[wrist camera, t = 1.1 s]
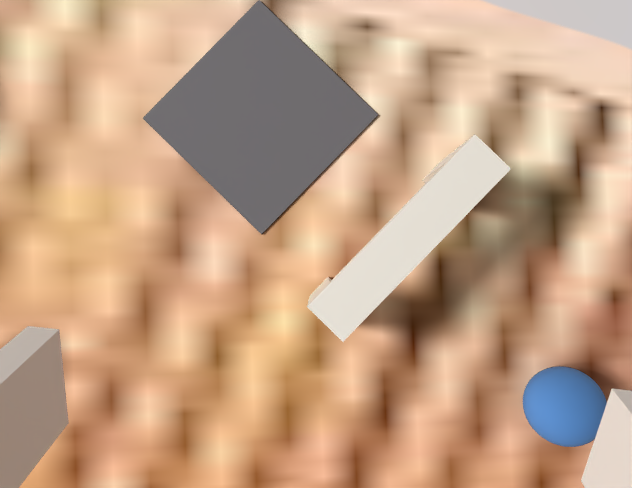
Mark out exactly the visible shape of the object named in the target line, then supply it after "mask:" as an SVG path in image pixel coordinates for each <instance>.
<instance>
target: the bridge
mask: <svg viewBox="0 0 632 488" xmlns="http://www.w3.org/2000/svg"><path fill="white" fill-rule="evenodd" d="M510 169H511V168H510V167H509V166H508V165H507V164H505V163H504V162H503V161H502V160H501V159H500V158H499V157H498V156H497V155H496V154H495V153H494V152H493V151H492V150H491V149H490V148H489V147H488V146H487V145H486V144H485V143H484V142H483V141H482V140H480V139H479V138H478V137H477V136H476V135H473V136H472V137H471V138H470V139H468V140H467V141H466V142H464V143H463V144H462V145H461V146H459V147H458V148H457V149H456V150H454V151H453V152H452V153H450V154H449V155H448V156H447V157H445V158H444V159H443V160H441V161H440V162H439V163H438V164H437V165H436V166H435V167H434V168H433V169H432V170H431V171H430V172H429V173H428V174H427V175H426V176H425V177H424V178H423V180H422V181H423V182H424V183H425V185H424V186H423V187H422V188H421V189H420V190H419V191H418V192H417V193H416V194H415V195H414V196H413V197H412V198H411V199H410V200H409V201H408V202H407V203H406V204H405V205H404V206H403V207H402V208H401V209H400V210H399V211H398V213H397V214H396V215H395V216H394V217H393V218H392V219H391V220H390V221H389V222H388V223H387V224H386V225H385V226H384V227H383V228H382V229H381V230H380V231H379V232H378V233H377V234H376V235H375V236H374V237H373V238H372V239H371V240H370V241H369V242H368V243H367V244H366V245H365V246H364V247H363V248H362V249H361V251H360V252H359V253H358V254H357V255H356V256H355V257H354V258H353V259H352V260H351V261H350V262H349V263H348V264H347V265H346V266H345V267H344V268H343V269H342V270H341V271H340V272H339V273H338V274H337V275H336V276H335V277H334V278H333V279H332V280H331V279H330V278H329V277H327V278H326V279H325V280H324V281H323V282H322V283H321V284H320V285H319V286H318V287H317V288H316V289H315V290H314V291H313V293H312V294H311V295H310V297H309V301H308V305H307V307H308V308H309V309H310V310H311V311H312V312H313V313H314V314H315V315H316V316H317V317H318V318H319V319H320V320H321V321H322V322H323V323H324V324H325V325H326V326H327V327H328V328H329V329H330V330H331V331H332V332H333V333H334V334H335V335H336V336H337V337H339V338H340V339H341V340H342V341H344V340H345V339H346V338H347V337H348V336H349V335H350V334H351V333H352V332H353V331H354V330H355V329H356V328H357V327H358V326H359V325H360V324H361V323H362V322H363V321H364V320H365V319H366V318H367V317H368V316H369V315H370V314H371V312H372V311H373V310H374V309H375V308H376V307H377V306H378V305H379V304H380V303H381V302H382V301H383V300H384V299H385V298H386V297H387V296H388V295H389V294H390V293H391V292H392V291H393V290H394V289H395V288H396V287H397V286H398V285H399V284H400V283H401V282H402V281H403V280H404V279H405V277H406V276H407V275H408V274H409V273H410V272H411V271H412V270H413V269H414V268H415V267H416V266H417V265H418V264H419V263H420V262H421V261H422V260H423V259H424V258H425V257H426V256H427V255H428V254H429V253H430V252H431V251H432V250H433V249H434V248H435V247H436V246H437V245H438V244H439V242H440V241H441V240H442V239H443V238H444V237H445V236H446V235H447V234H448V233H449V232H450V231H451V230H452V229H453V228H454V227H455V226H456V225H457V224H458V223H459V222H460V221H461V220H462V219H463V218H464V217H465V216H466V215H467V214H468V213H469V212H470V211H471V210H472V209H473V207H474V206H475V205H476V204H477V203H478V202H479V201H480V200H481V199H482V198H483V197H484V196H485V195H486V194H487V193H488V192H489V191H490V190H491V189H492V188H493V187H494V186H495V185H496V184H497V183H498V182H499V181H500V180H501V179H502V178H503V177H504V176H505V175H506V174H507V172H508V171H509V170H510Z"/></svg>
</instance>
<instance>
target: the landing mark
mask: <svg viewBox="0 0 632 488" xmlns="http://www.w3.org/2000/svg"><path fill="white" fill-rule="evenodd" d="M377 116H378V114H377V113H376V112H375V111H374V110H373V109H372V108H371V107H370V106H369V105H367V104H366V103H365V102H364V101H363V100H362V99H361V98H360V97H359V96H358V95H357V94H356V93H355V92H354V91H353V90H352V89H351V88H350V87H349V86H348V85H347V84H346V83H345V82H344V81H343V80H342V79H341V78H339V77H338V76H337V75H336V74H335V73H334V72H333V71H332V70H331V69H330V68H329V67H328V66H327V65H326V64H325V63H324V62H323V61H322V60H321V59H320V58H319V57H318V56H317V55H316V54H315V53H314V52H312V51H311V50H310V49H309V48H308V47H307V46H306V45H305V44H304V43H303V42H302V41H301V40H300V39H299V38H298V37H297V36H296V35H295V34H294V33H293V32H292V31H291V30H290V29H289V28H288V27H287V26H286V25H284V24H283V23H282V22H281V21H280V20H279V19H278V18H277V17H276V16H275V15H274V14H273V13H272V12H271V11H270V10H269V9H268V8H267V7H266V6H265V5H264V4H263V3H262V2H261V1H260V0H258V1H257V2H256V3H255V4H254V5H253V6H252V7H251V8H250V10H249V11H248V12H247V13H246V14H245V15H244V16H243V17H242V18H241V19H240V20H239V21H238V22H237V23H236V24H235V25H234V26H233V27H232V28H231V29H230V30H229V31H228V32H227V33H226V34H225V35H224V36H223V37H222V38H221V39H220V40H219V41H218V42H217V43H216V44H215V45H214V46H213V47H212V48H211V49H210V50H209V51H208V52H207V53H206V54H205V55H204V56H203V57H202V58H201V59H200V60H199V61H198V62H197V63H196V64H195V65H194V66H193V68H192V69H191V70H190V71H189V72H188V73H187V74H186V75H185V76H184V77H183V78H182V79H181V80H180V81H179V82H178V83H177V84H176V85H175V86H174V87H173V88H172V89H171V90H170V91H169V92H168V93H167V94H166V95H165V96H164V97H163V98H162V99H161V100H160V101H159V102H158V103H157V104H156V105H155V106H154V107H153V108H152V109H151V110H150V111H149V112H148V113H147V114H146V115H145V116H144V117H143V119H144V120H145V121H146V122H147V123H148V124H149V125H150V126H151V127H152V128H153V129H154V130H155V131H156V132H157V133H158V134H159V135H160V136H161V137H162V138H163V139H164V140H165V141H167V142H168V143H169V144H170V145H171V146H172V147H173V148H174V149H175V150H176V151H177V152H178V153H179V154H180V155H181V156H182V157H183V158H184V159H185V160H186V161H187V162H188V163H189V164H190V165H191V166H192V167H193V168H194V169H195V170H196V171H197V172H198V173H199V174H200V175H201V176H202V177H203V178H204V179H205V180H206V181H207V182H208V183H210V184H211V185H212V186H213V187H214V188H215V189H216V190H217V191H218V192H219V193H220V194H221V195H222V196H223V197H224V198H225V199H226V200H227V201H228V202H229V203H230V204H231V205H232V206H233V207H234V208H235V209H236V210H237V211H238V212H239V213H240V214H241V215H242V216H243V217H244V218H245V219H246V220H247V221H248V222H249V223H250V224H251V225H253V226H254V227H255V228H256V229H257V230H258V231H259V232H260V233H261V234H263V232H264V231H265V230H266V229H267V228H268V227H269V226H270V225H271V224H272V223H273V222H274V221H275V220H276V219H277V218H278V217H279V216H280V215H281V214H282V213H283V212H284V211H285V210H286V209H287V208H288V207H289V206H290V205H291V204H292V203H293V202H294V201H295V200H296V199H297V198H298V197H299V196H300V195H301V194H302V193H303V192H304V190H305V189H306V188H307V187H308V186H309V185H310V184H311V183H312V182H313V181H314V180H315V179H316V178H317V177H318V176H319V175H320V174H321V173H322V172H323V171H324V170H325V169H326V168H327V167H328V166H329V165H330V164H331V163H332V162H333V161H334V160H335V159H336V158H337V157H338V156H339V155H340V154H341V153H342V152H343V151H344V150H345V149H346V147H347V146H348V145H349V144H350V143H351V142H352V141H353V140H354V139H355V138H356V137H357V136H358V135H359V134H360V133H361V132H362V131H363V130H364V129H365V128H366V127H367V126H368V125H369V124H370V123H371V122H372V121H373V120H374V119H375V118H376V117H377Z"/></svg>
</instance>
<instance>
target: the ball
mask: <svg viewBox="0 0 632 488" xmlns="http://www.w3.org/2000/svg"><path fill="white" fill-rule="evenodd" d="M606 404H607V402H606V398H605V396H604V394H603V392H602V390H601V389H600V387H599V386H598V384H597V383H596V382H595V381H594V380H593V379H592V378H590V377H589V376H588V375H586V374H585V373H583V372H581V371H579V370H576V369H573V368H569V367H560V366H558V367H551V368H547V369H544V370H542V371H540V372H538V373H537V374H536V375H535V376H533V377H532V378H531V380H530V381H529V382H528V384H527V386H526V388H525V391H524V395H523V408H524V413H525V415H526V418H527V420H528V422H529V424H530V425H531V427H532V428H533V429H534V430H535V431H536V432H537V433H538V434H539V435H540V436H541V437H543V438H544V439H546V440H547V441H549V442H551V443H554V444H557V445H560V446H567V447H576V446H581V445H584V444H587V443H589V442H591V441H593V440H594V439H595V437H596V434H597V431H598V428H599V425H600V422H601V419H602V416H603V413H604V410H605V407H606Z"/></svg>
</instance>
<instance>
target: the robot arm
mask: <svg viewBox="0 0 632 488" xmlns="http://www.w3.org/2000/svg"><path fill="white" fill-rule="evenodd" d="M67 424H68V413H67V403H66V393H65V383H64V373H63V363H62V353H61V343H60V333H59V329H50V328H41V327H31V326H28V327H26V328H25V329H24V330H23V331H22V332H20V333H19V334H18V335H17V336H16V337H14V338H13V339H12V340H11V341H10V342H8V343H7V344H6V345H5V346H4V347H2V348H1V349H0V488H19V487H20V485H21V484H22V483H23V481H24V480H25V479H26V478H27V476H28V475H29V474H30V472H31V471H32V470H33V469H34V467H35V466H36V465H37V463H38V462H39V461H40V459H41V458H42V457H43V456H44V454H45V453H46V452H47V450H48V449H49V448H50V446H51V445H52V444H53V443H54V441H55V440H56V439H57V437H58V436H59V435H60V433H61V432H62V431H63V430H64V428H65V427H66V426H67ZM581 482H582V483H583V485H584V487H585V488H632V391H631V390H621V389H611V392H610V395H609V398H608V401H607V404H606V407H605V410H604V413H603V416H602V419H601V422H600V425H599V428H598V431H597V434H596V437H595V440H594V443H593V446H592V449H591V452H590V455H589V458H588V461H587V464H586V467H585V470H584V473H583V476H582V479H581Z"/></svg>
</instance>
